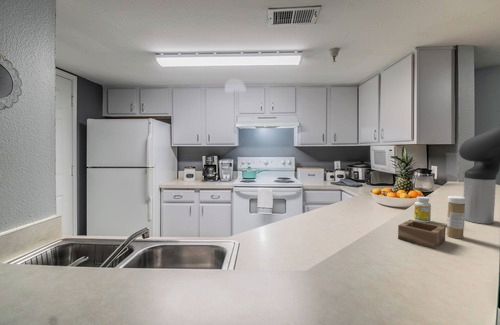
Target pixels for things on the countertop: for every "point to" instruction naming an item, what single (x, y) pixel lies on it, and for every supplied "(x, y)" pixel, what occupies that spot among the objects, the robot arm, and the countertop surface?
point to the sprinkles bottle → (456, 216)
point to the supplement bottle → (422, 210)
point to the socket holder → (422, 233)
